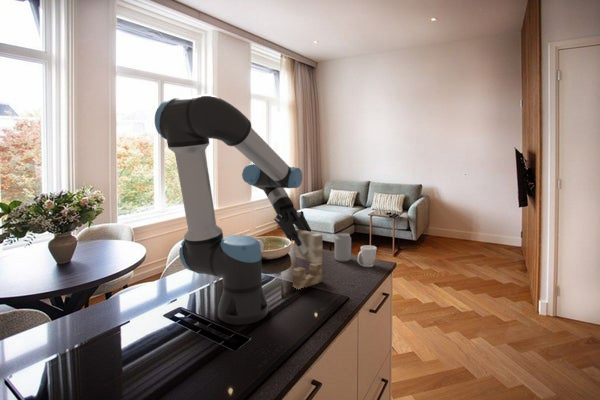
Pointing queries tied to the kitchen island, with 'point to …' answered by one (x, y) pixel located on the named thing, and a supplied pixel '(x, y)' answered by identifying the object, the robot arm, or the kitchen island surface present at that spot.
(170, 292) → the kitchen island surface
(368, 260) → the cup
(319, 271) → the oak slot board
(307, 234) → the cream wavy slab
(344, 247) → the can
